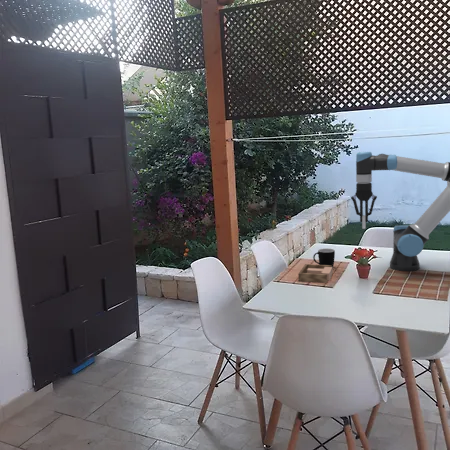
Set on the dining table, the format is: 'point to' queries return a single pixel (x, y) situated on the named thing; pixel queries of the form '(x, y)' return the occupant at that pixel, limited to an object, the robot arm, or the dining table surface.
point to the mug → (325, 256)
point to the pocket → (312, 277)
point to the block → (321, 271)
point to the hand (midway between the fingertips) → (364, 228)
